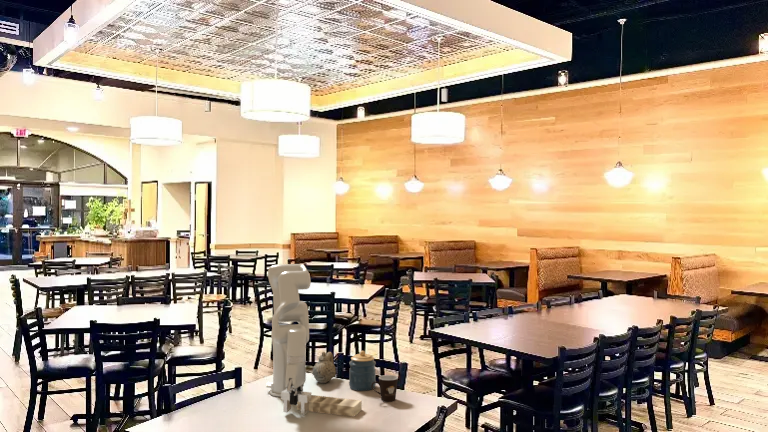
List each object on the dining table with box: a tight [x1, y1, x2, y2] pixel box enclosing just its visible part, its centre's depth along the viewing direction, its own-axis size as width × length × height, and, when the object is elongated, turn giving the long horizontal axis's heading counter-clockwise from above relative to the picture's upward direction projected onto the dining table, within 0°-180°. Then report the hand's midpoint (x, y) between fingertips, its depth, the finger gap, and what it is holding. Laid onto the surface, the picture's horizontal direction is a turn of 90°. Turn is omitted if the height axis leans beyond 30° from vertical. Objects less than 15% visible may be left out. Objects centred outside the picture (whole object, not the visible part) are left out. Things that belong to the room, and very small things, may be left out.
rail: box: [296, 394, 363, 418], centre depth 248 cm, size 26×9×4 cm, turn 71°
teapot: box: [312, 351, 337, 384], centre depth 292 cm, size 21×12×15 cm, turn 168°
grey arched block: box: [280, 389, 312, 415], centre depth 241 cm, size 12×4×8 cm, turn 71°
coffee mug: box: [371, 374, 399, 403], centre depth 262 cm, size 12×9×10 cm
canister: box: [348, 350, 377, 392], centre depth 282 cm, size 13×13×18 cm
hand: (296, 402), depth 241 cm, fingers closed on grey arched block, 4 cm apart
